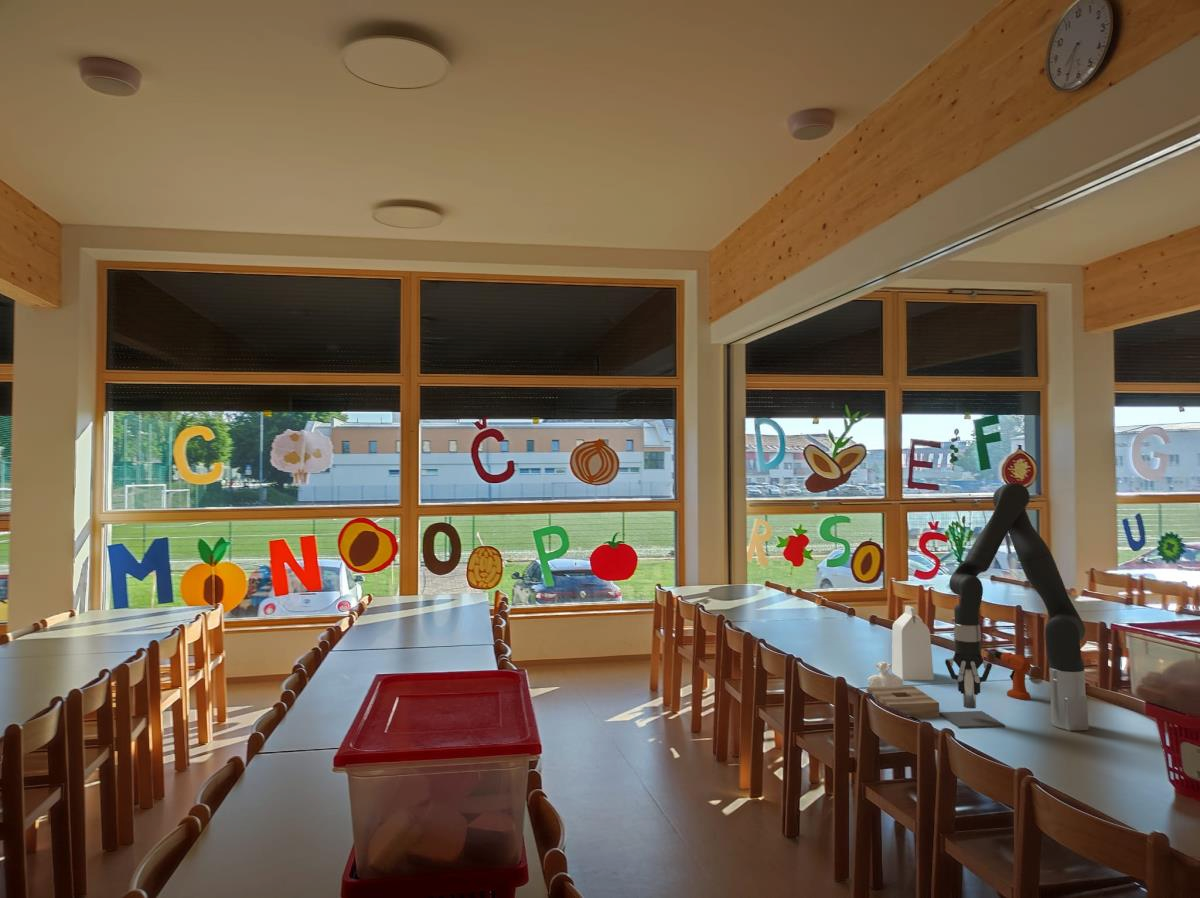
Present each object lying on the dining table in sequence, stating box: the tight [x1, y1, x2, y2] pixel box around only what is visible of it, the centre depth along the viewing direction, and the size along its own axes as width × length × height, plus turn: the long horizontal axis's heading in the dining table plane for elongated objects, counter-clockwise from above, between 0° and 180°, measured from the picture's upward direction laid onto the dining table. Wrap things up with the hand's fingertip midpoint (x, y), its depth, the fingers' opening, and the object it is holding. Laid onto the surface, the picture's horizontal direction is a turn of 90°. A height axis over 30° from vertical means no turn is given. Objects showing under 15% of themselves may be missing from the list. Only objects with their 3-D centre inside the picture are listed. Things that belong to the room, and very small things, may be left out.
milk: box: [891, 605, 935, 681], centre depth 300 cm, size 12×12×26 cm
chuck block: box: [866, 685, 941, 719], centre depth 259 cm, size 20×16×4 cm
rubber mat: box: [939, 710, 1006, 729], centre depth 245 cm, size 14×14×1 cm
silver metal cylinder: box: [962, 669, 977, 709], centre depth 246 cm, size 4×4×12 cm
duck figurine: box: [867, 660, 904, 687], centre depth 280 cm, size 12×8×11 cm
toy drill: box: [983, 648, 1032, 701], centre depth 273 cm, size 5×19×15 cm, turn 22°
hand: (969, 693), depth 246 cm, fingers closed on silver metal cylinder, 3 cm apart
